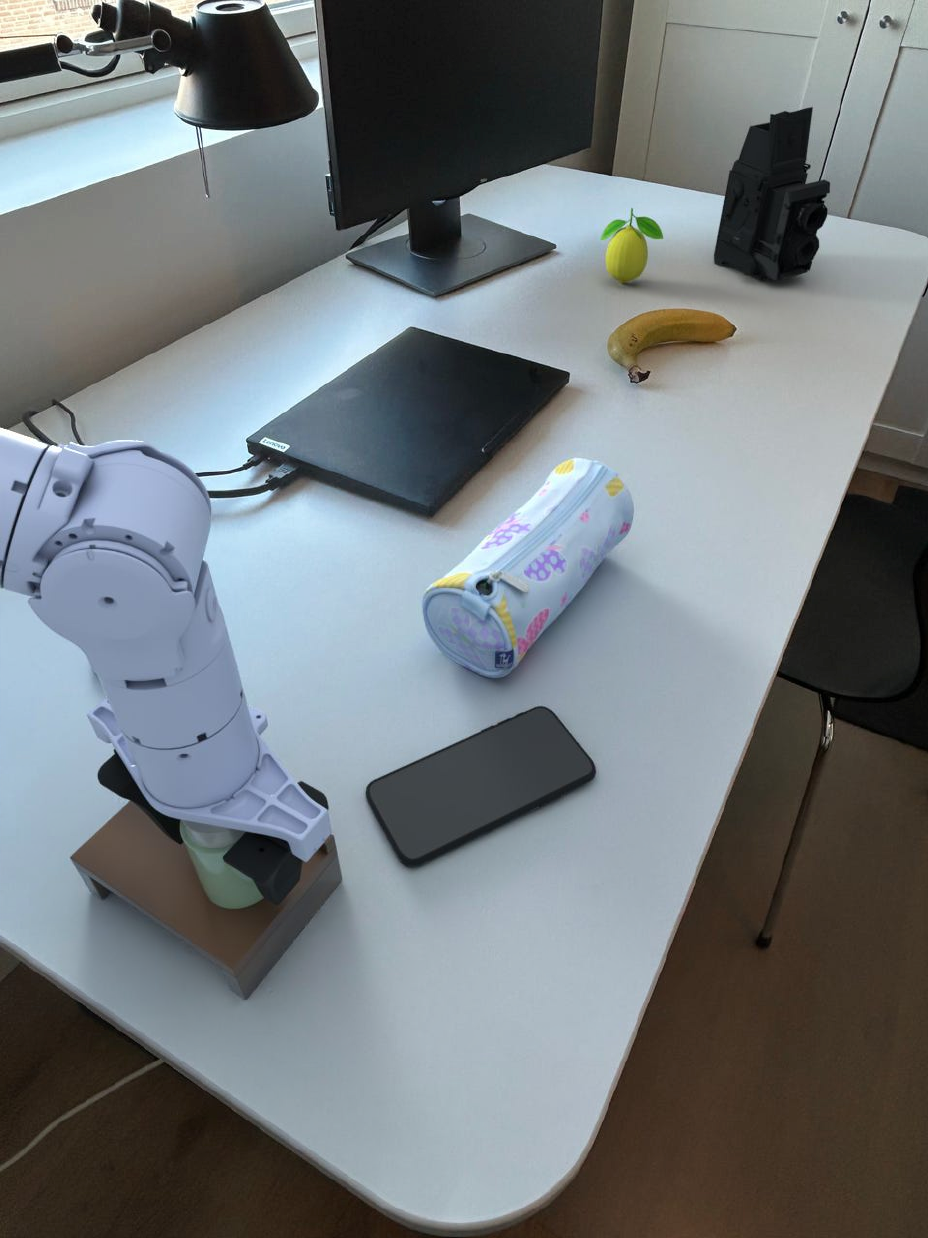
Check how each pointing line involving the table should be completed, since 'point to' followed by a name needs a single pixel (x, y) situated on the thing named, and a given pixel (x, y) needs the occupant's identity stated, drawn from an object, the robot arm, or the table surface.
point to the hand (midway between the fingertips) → (235, 858)
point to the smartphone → (478, 784)
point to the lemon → (629, 247)
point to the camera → (772, 202)
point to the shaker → (218, 865)
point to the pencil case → (528, 568)
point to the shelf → (201, 896)
